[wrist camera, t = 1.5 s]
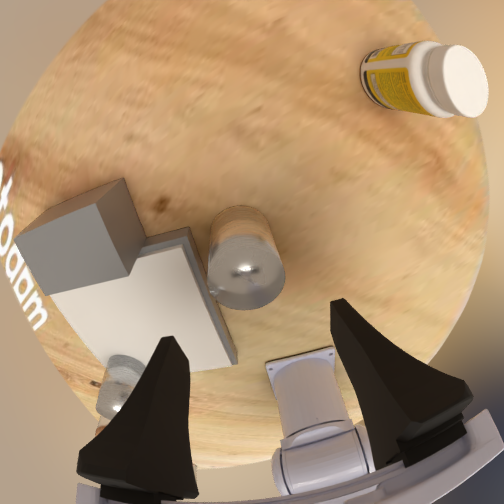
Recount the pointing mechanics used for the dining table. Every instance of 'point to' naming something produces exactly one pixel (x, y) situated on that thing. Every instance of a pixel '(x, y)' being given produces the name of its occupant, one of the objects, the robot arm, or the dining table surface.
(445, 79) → the supplement bottle
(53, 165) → the dining table surface
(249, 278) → the cylinder
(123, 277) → the scale
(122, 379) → the cylinder
